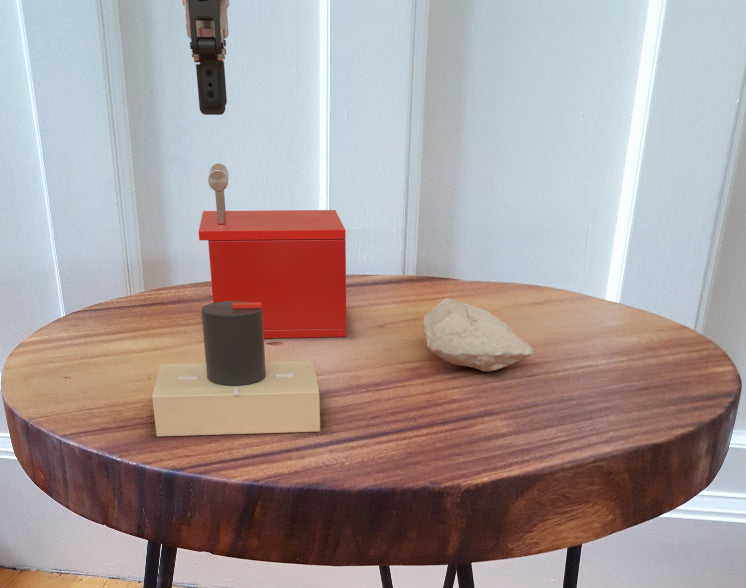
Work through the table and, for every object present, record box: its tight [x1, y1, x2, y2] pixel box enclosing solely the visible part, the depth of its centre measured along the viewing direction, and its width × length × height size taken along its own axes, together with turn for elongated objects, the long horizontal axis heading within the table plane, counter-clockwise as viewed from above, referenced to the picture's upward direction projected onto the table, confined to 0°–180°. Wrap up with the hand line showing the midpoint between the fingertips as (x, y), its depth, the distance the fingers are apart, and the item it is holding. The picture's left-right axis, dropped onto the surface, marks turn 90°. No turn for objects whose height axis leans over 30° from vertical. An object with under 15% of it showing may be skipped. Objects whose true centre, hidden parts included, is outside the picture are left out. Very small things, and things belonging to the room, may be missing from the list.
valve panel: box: [151, 360, 321, 437], centre depth 73 cm, size 12×9×3 cm
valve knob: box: [200, 301, 266, 385], centre depth 71 cm, size 4×4×5 cm
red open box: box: [207, 239, 347, 339], centre depth 95 cm, size 13×12×9 cm
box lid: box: [198, 163, 347, 241], centre depth 91 cm, size 13×12×5 cm
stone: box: [423, 297, 534, 372], centre depth 86 cm, size 9×13×5 cm
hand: (214, 110), depth 86 cm, fingers open, 8 cm apart
